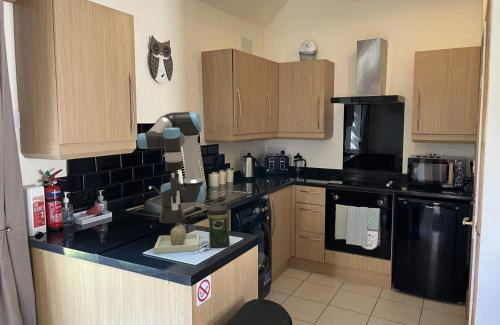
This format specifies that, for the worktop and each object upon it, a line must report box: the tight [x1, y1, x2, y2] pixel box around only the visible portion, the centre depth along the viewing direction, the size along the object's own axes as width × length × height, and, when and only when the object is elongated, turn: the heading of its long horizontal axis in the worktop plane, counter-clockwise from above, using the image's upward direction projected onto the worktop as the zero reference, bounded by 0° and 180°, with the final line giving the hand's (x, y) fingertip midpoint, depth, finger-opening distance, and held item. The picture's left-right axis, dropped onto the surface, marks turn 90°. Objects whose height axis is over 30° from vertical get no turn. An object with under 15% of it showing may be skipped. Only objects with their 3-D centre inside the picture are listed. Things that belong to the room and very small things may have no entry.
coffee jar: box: [206, 205, 231, 248], centre depth 177 cm, size 10×8×19 cm
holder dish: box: [153, 232, 200, 255], centre depth 179 cm, size 19×19×3 cm
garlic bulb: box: [170, 224, 187, 246], centre depth 179 cm, size 9×8×10 cm
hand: (176, 207), depth 178 cm, fingers open, 13 cm apart
